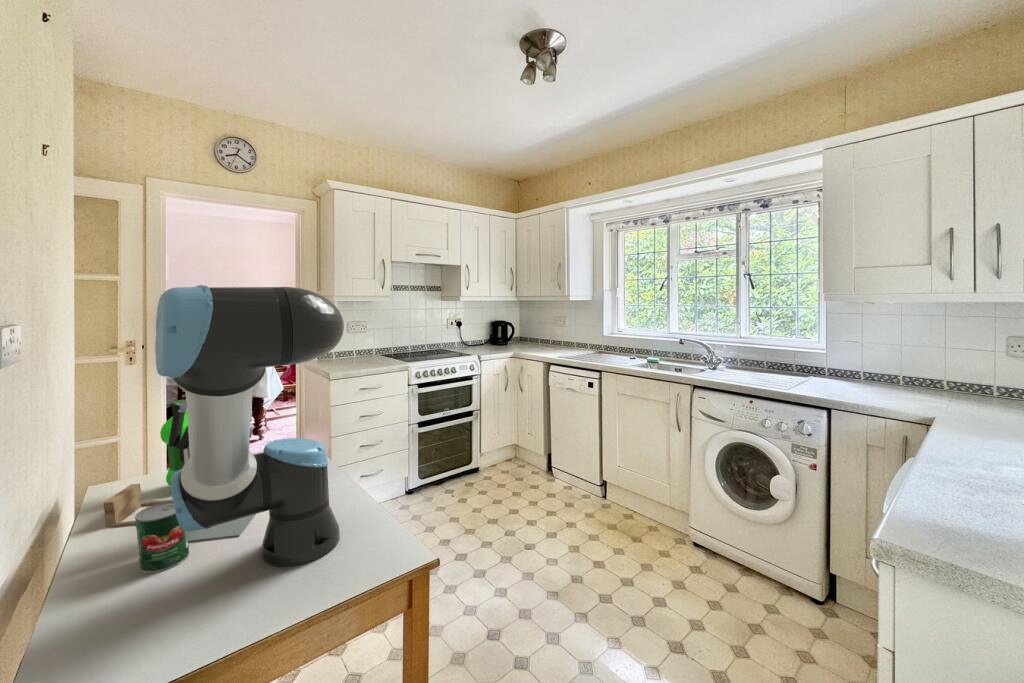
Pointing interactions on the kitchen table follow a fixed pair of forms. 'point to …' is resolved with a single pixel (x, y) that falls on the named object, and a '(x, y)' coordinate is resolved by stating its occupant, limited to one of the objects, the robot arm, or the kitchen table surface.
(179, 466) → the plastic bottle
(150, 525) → the canned tomato
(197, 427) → the robot arm
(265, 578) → the kitchen table surface
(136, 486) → the frame
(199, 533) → the mat
